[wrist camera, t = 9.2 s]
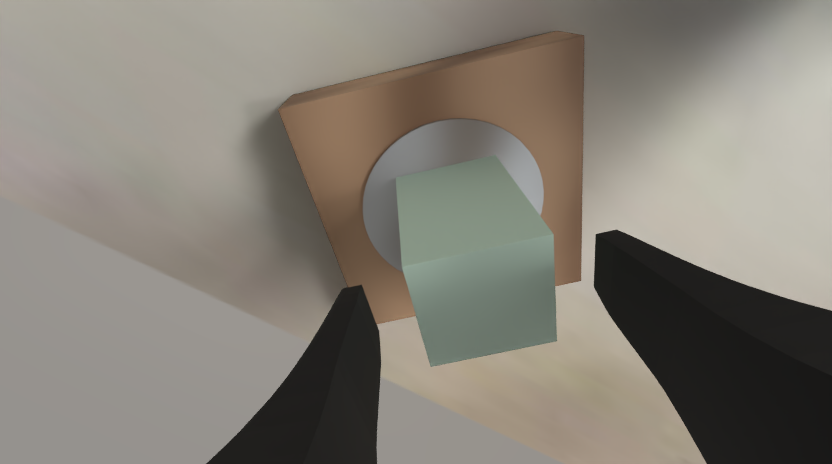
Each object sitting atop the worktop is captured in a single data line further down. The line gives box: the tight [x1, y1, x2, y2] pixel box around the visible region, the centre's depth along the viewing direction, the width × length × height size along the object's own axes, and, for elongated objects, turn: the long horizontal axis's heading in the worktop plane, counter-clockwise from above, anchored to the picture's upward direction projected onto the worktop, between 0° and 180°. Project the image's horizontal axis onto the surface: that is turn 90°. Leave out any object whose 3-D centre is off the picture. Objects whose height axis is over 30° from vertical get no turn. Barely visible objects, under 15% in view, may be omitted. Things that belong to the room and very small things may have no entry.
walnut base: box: [278, 31, 584, 324], centre depth 17 cm, size 11×11×3 cm
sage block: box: [396, 155, 557, 367], centre depth 14 cm, size 4×4×6 cm
